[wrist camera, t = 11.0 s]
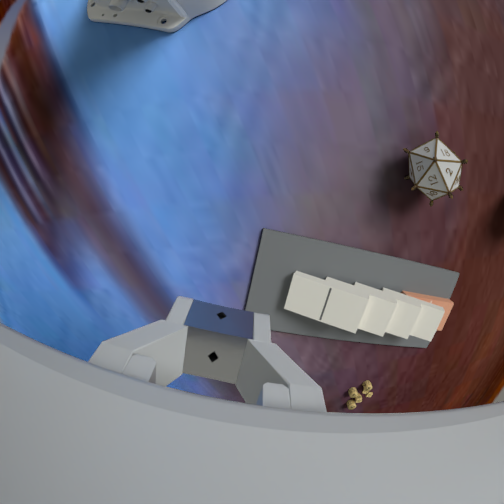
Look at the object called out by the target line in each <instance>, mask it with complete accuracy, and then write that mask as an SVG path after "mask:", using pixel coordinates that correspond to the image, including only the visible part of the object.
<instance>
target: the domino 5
mask: <svg viewBox="0 0 504 504" xmlns="http://www.w3.org/2000/svg"><path fill="white" fill-rule="evenodd" d="M402 294H405V295H408V296H411V297H414V298H417V299H420V300H423V301H426V302H429V303H432V304H435V305H438V306H441V307H443V308H444V310H445V313H444V315H443V317H442V319H441V322H440V324H439V326H438V328H437V330H442V328H443V326H444V324H445V322H446V320H447V318H448V316H449V313H450V311H451V309H452V307H453V304H454V303H453V302H452V301H451V300H450V299H446V298H441V297H435V296H430V295H424V294H419V293H413V292H408V291H402Z"/></svg>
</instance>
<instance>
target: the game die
mask: <svg viewBox="0 0 504 504" xmlns="http://www.w3.org/2000/svg"><path fill="white" fill-rule="evenodd" d="M435 136H436V138H434V139H432V140H430V141H428V142H426V143H424V144H422V145H420V146H419V147H417V148H415V149H413V150H411V151H409V150H408V149H407V148H403V150H404V151H405V152H406V153H408V154H409V176H408V175H407V176H405V178H404V179H406V180H407V179H409V178H410V179H411V181H412V182H413V184H414V186H412V188H411V190H415V189H416V188H418V189H419V190H420V191H421V192H422V193H423V194H424V195H426V196H427V197H428V198H429V199H430V200H431V201H430V206H432V205H433V200H436V199H438V198H440V197H443V196H445V195H448V196H449V198H452V199H453V195H452V193H451V192H453V191H454V190H455V189H457V188H459V190H463V188H462V187H461V186H459V183H460V177H461V171H462V164H463V163H464V164H465V163H466V164H467V162H468V160H466V159H464V160H463V161H462V160H461V159H460V158H459V157H458V156H457V155H456V154H455V152H453V151H451V150H450V149H449V148H448V147H447V146H446V145H445V144H444V143H443V142H442V141H441V140H440V139H439V138H438V136H439V133H438V131H436V133H435Z"/></svg>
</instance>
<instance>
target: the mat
mask: <svg viewBox="0 0 504 504" xmlns="http://www.w3.org/2000/svg"><path fill="white" fill-rule="evenodd" d="M296 271H299V272H302V273H305V274H308V275H311V276H314V277H317V278H320V279H323V280H326V278H327V277H330V278H333V279H336V280H339V281H342V282H345V283H348V284H352V285H354V284H355V282H358V283H361V284H364V285H367V286H370V287H373V288H376V289H379V290H382V289H383V287H384V288H387V289H390V290H393V291H396V292H399V293H402V291H408V292H413V293H419V294H424V295H430V296H435V297H441V298H446V299H450V297H451V294H452V292H453V289H454V287H455V284H456V282H457V279H458V277H459V274H460V273H458V272H454V271H450V270H446V269H442V268H438V267H434V266H430V265H426V264H422V263H418V262H414V261H410V260H406V259H401V258H397V257H393V256H389V255H384V254H380V253H376V252H371V251H367V250H363V249H358V248H354V247H349V246H345V245H340V244H336V243H331V242H327V241H322V240H318V239H313V238H308V237H304V236H299V235H294V234H290V233H285V232H280V231H275V230H270V229H265V228H263V233H262V237H261V242H260V246H259V251H258V255H257V260H256V264H255V269H254V273H253V278H252V282H251V286H250V291H249V295H248V300H247V304H246V309H245V311H250V312H255V313H262V314H268V315H269V316H270V330H274V331H280V332H287V333H293V334H300V335H307V336H314V337H321V338H329V339H337V340H345V341H354V342H363V343H373V344H383V345H394V346H407V347H421V348H427V346H428V344H429V342H430V341H427V340H424V339H421V338H418V337H415V336H412V335H409V337H408V339H405V338H402V337H399V336H396V335H393V334H390V333H387V332H385V333H384V336H383V337H382V336H379V335H376V334H373V333H370V332H367V331H364V330H361V329H357V331H356V334H355V333H352V332H349V331H346V330H344V329H341V328H338V327H335V326H332V325H329V324H326V323H323V322H320V321H317V320H314V319H312V318H309V317H306V316H303V315H300V314H298V313H295V312H292V311H289V310H286V309H284V306H285V303H286V299H287V296H288V292H289V289H290V285H291V281H292V278H293V274H294V273H295V272H296Z"/></svg>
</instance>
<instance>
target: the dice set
mask: <svg viewBox="0 0 504 504" xmlns="http://www.w3.org/2000/svg"><path fill="white" fill-rule="evenodd" d="M362 385H363V387H364V389H363V391H362V393H367V394H366V397H371V396H372V394H373V392H368V391H369V390H371V389H372V385H371V383H370V381H365V382H363V384H362ZM348 392H349V395H350V397H351V398H355V400H356V403H358V402H362V397H361V395H360V394H359V393H358V392H357V390H356V388H355V387H354V388H350V389H349V391H348ZM347 406H348V409H350V410H351V409H354V408H355V407H356V404H355V401H354V400H349V401H347Z"/></svg>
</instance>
